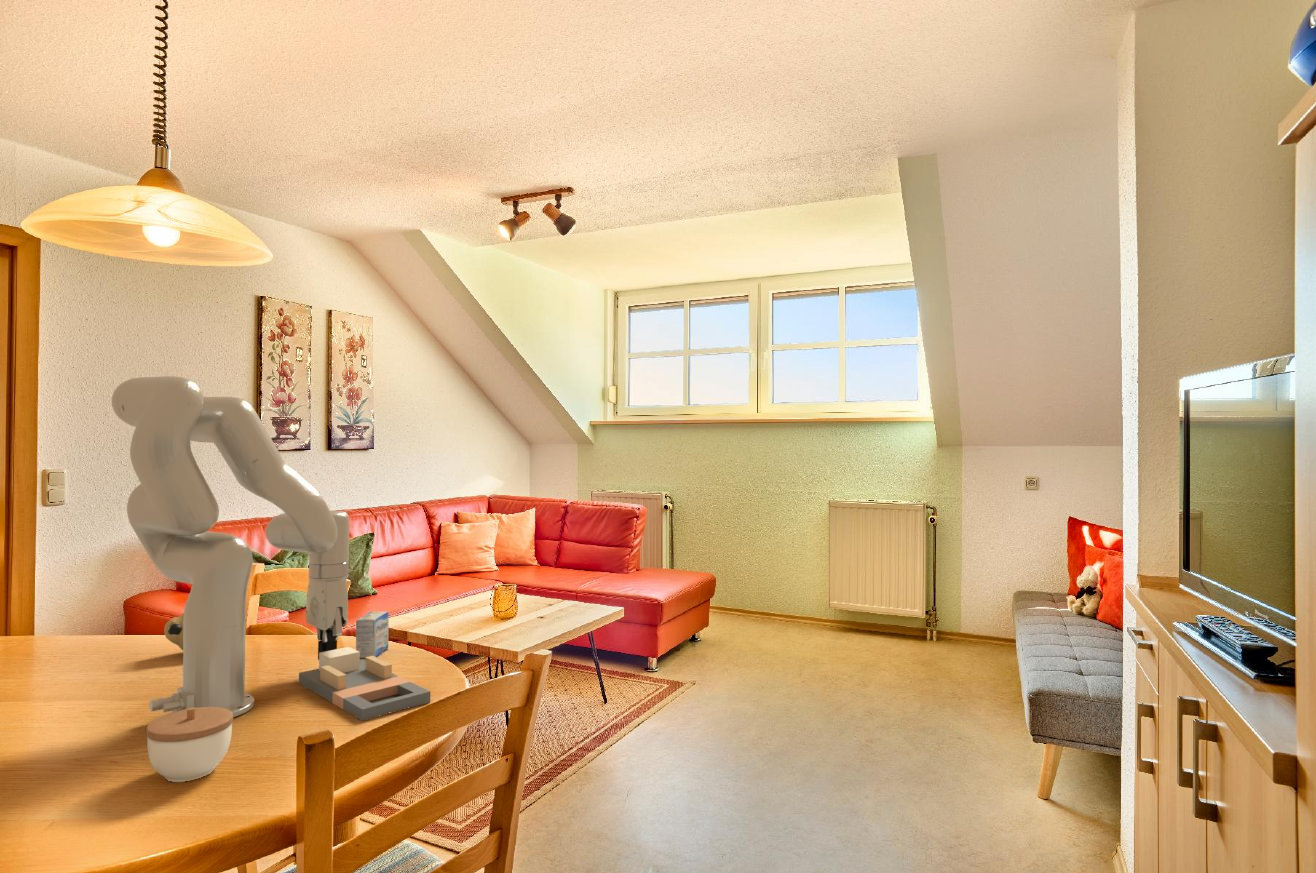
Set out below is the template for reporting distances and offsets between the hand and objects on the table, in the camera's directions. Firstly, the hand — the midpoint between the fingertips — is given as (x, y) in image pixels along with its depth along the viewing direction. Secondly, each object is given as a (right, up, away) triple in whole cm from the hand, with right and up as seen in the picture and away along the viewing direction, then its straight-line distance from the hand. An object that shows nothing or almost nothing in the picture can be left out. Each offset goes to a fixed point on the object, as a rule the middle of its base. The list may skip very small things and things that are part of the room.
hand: (327, 659), depth 154 cm
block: (+4, -1, -4) cm, 6 cm away
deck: (+12, -3, -11) cm, 16 cm away
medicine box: (+4, -3, +14) cm, 15 cm away
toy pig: (-34, -3, +12) cm, 36 cm away
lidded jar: (0, -3, -45) cm, 45 cm away
